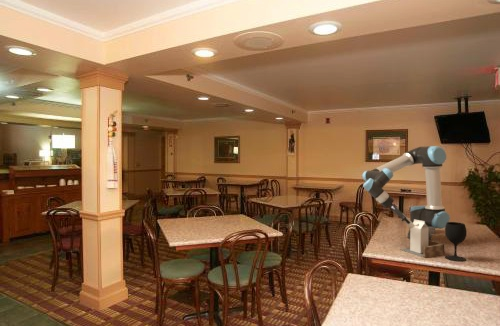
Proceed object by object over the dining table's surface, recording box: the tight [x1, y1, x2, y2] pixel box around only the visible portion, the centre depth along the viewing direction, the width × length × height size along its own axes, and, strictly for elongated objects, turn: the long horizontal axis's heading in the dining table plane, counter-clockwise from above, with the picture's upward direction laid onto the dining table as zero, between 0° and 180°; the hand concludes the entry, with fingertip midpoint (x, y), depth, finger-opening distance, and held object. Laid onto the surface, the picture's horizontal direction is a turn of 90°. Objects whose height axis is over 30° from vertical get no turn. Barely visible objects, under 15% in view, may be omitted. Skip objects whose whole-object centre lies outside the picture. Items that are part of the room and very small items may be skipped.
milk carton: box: [409, 219, 429, 253], centre depth 198 cm, size 7×7×19 cm
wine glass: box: [444, 221, 467, 263], centre depth 184 cm, size 10×10×20 cm
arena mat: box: [399, 247, 424, 258], centre depth 198 cm, size 15×16×1 cm
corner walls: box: [422, 240, 445, 259], centre depth 198 cm, size 16×19×6 cm
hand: (411, 224), depth 198 cm, fingers open, 13 cm apart
